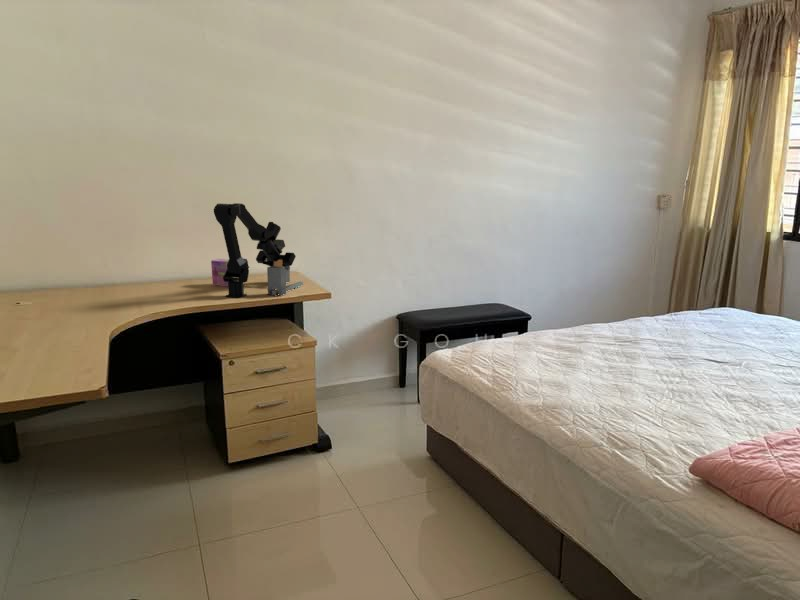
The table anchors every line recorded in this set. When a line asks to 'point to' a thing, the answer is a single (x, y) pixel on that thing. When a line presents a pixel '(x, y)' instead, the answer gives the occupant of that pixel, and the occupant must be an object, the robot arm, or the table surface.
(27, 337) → the table surface
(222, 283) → the box
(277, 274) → the tall grey block
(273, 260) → the robot arm
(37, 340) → the table surface
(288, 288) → the rail
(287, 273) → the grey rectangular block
